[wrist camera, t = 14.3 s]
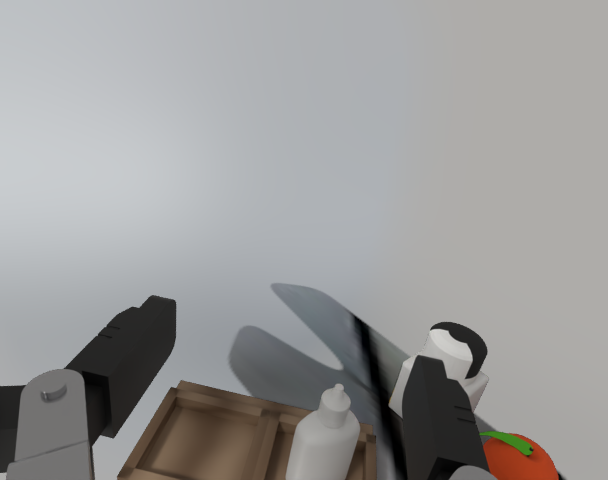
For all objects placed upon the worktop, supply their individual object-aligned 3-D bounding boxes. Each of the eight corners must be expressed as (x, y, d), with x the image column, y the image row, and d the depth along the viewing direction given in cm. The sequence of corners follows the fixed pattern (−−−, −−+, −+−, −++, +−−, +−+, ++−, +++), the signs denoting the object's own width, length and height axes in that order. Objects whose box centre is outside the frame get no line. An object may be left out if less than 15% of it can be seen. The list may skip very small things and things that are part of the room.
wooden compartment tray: (100, 525, 32) (98, 506, 31) (180, 386, 45) (181, 370, 44) (370, 597, 30) (378, 580, 29) (370, 431, 44) (375, 415, 43)
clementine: (448, 490, 39) (472, 442, 36) (467, 444, 44) (490, 398, 41) (535, 551, 35) (571, 503, 32) (544, 492, 41) (576, 446, 37)
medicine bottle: (420, 382, 52) (448, 307, 47) (469, 421, 47) (507, 343, 42) (386, 406, 48) (413, 326, 42) (437, 451, 43) (474, 369, 38)
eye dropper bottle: (288, 453, 39) (307, 361, 34) (345, 464, 39) (372, 373, 34) (281, 498, 35) (302, 401, 30) (344, 510, 35) (375, 416, 30)
